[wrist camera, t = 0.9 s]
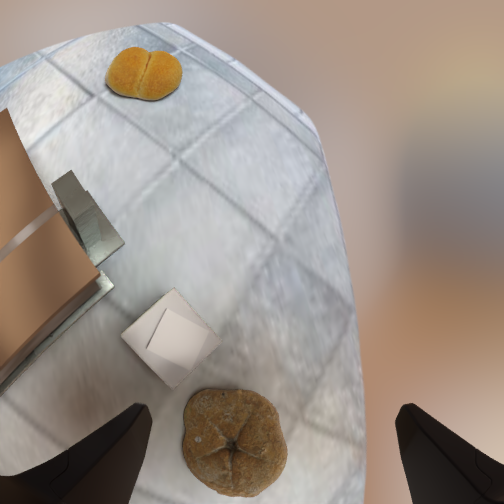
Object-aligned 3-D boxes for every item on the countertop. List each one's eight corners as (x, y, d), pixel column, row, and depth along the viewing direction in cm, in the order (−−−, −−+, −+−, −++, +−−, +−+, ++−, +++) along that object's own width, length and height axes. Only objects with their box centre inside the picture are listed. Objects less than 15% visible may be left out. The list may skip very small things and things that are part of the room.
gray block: (163, 376, 21) (174, 392, 16) (121, 332, 21) (120, 336, 16) (203, 337, 23) (225, 341, 19) (164, 294, 23) (176, 286, 18)
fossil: (279, 384, 19) (289, 500, 15) (289, 382, 23) (297, 482, 18) (173, 388, 21) (183, 492, 17) (197, 388, 25) (206, 479, 20)
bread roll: (173, 108, 28) (182, 84, 24) (98, 97, 24) (99, 72, 21) (184, 66, 30) (193, 44, 26) (119, 56, 26) (123, 32, 23)
